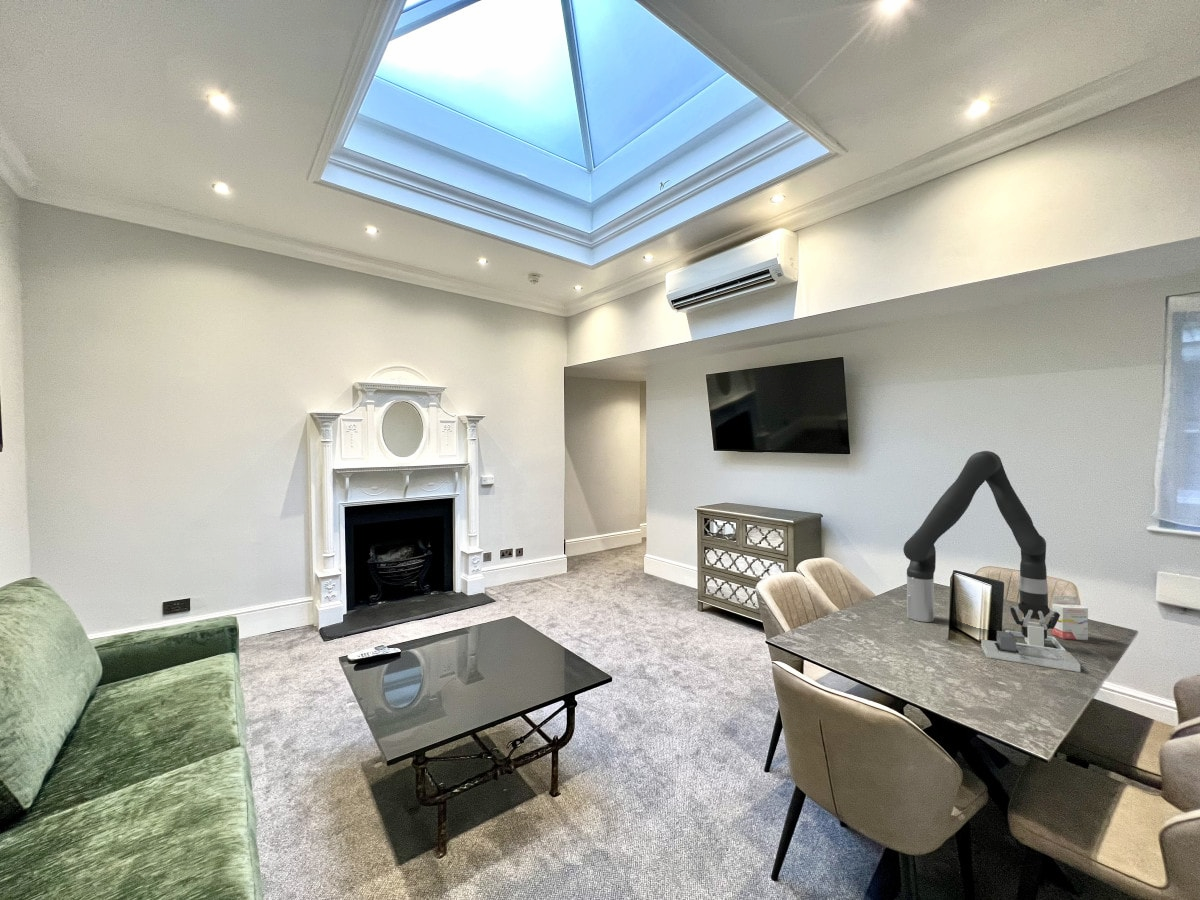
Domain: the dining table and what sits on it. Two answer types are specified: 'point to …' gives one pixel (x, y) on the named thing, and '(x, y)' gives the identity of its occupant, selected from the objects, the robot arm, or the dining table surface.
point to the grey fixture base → (1027, 653)
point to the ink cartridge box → (1070, 618)
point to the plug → (1035, 634)
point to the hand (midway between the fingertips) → (1034, 637)
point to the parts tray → (1049, 638)
